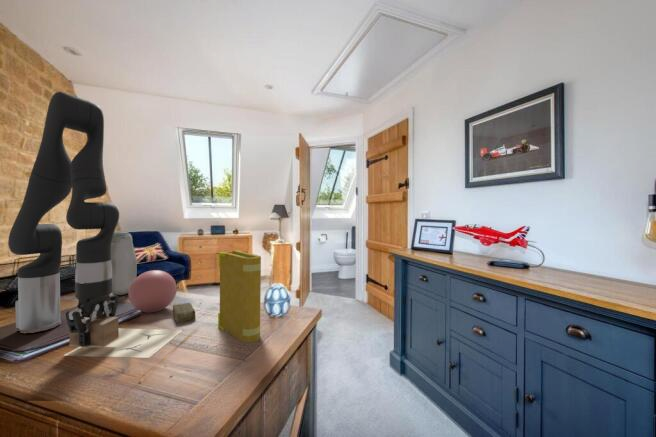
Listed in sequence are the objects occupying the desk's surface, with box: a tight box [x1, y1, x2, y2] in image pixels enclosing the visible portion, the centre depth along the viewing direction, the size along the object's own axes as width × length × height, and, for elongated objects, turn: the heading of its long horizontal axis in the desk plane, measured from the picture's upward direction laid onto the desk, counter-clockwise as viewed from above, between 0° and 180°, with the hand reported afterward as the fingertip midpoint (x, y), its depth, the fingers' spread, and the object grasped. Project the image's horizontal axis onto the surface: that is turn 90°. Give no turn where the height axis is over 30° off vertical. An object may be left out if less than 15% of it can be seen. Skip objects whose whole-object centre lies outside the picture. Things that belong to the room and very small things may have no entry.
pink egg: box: [127, 269, 178, 313], centre depth 107 cm, size 15×20×15 cm
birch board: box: [63, 327, 184, 359], centre depth 79 cm, size 22×16×2 cm
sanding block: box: [68, 316, 120, 348], centre depth 75 cm, size 9×5×6 cm, turn 89°
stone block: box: [172, 302, 196, 324], centre depth 97 cm, size 6×12×5 cm, turn 37°
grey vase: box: [111, 230, 138, 296], centre depth 124 cm, size 10×10×28 cm
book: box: [217, 249, 262, 343], centre depth 89 cm, size 17×7×25 cm, turn 47°
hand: (94, 340), depth 75 cm, fingers closed on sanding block, 5 cm apart
